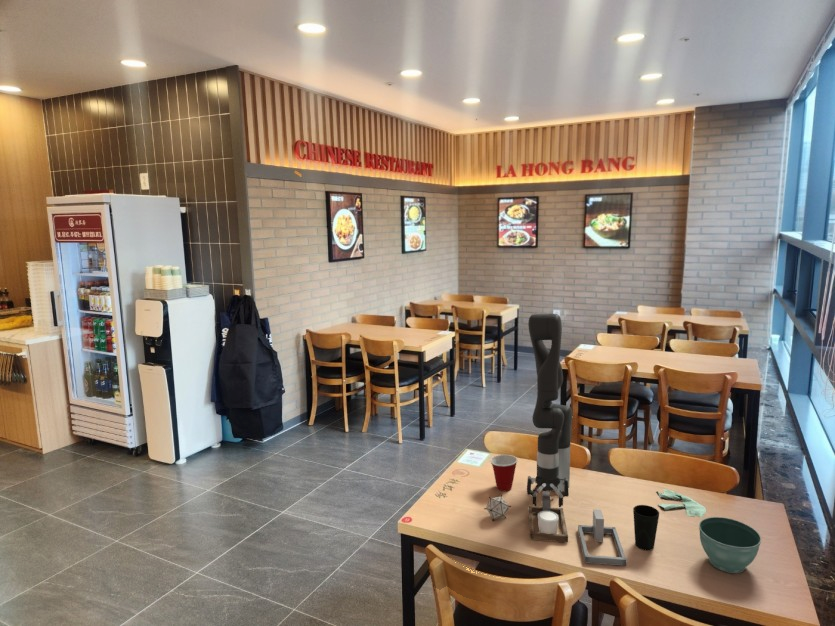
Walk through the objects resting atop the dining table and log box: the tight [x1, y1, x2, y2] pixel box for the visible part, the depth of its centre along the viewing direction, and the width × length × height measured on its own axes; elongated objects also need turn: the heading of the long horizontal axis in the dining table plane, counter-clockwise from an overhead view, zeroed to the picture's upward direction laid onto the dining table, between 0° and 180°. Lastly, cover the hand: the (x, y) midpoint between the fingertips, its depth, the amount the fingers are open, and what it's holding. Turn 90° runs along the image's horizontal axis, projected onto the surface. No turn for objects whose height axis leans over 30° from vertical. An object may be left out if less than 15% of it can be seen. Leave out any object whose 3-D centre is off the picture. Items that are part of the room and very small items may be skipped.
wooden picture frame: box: [527, 490, 569, 543], centre depth 187 cm, size 18×12×8 cm, turn 171°
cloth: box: [655, 488, 707, 518], centre depth 201 cm, size 20×22×2 cm
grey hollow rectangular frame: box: [577, 508, 627, 567], centre depth 174 cm, size 18×12×8 cm, turn 171°
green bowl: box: [698, 516, 762, 574], centre depth 164 cm, size 16×16×11 cm
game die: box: [483, 493, 512, 522], centre depth 193 cm, size 9×8×10 cm
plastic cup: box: [489, 454, 518, 492], centre depth 215 cm, size 11×11×12 cm
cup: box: [632, 504, 660, 552], centre depth 174 cm, size 8×8×12 cm
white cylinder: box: [537, 511, 560, 534], centre depth 182 cm, size 7×7×7 cm
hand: (547, 505), depth 193 cm, fingers open, 8 cm apart
